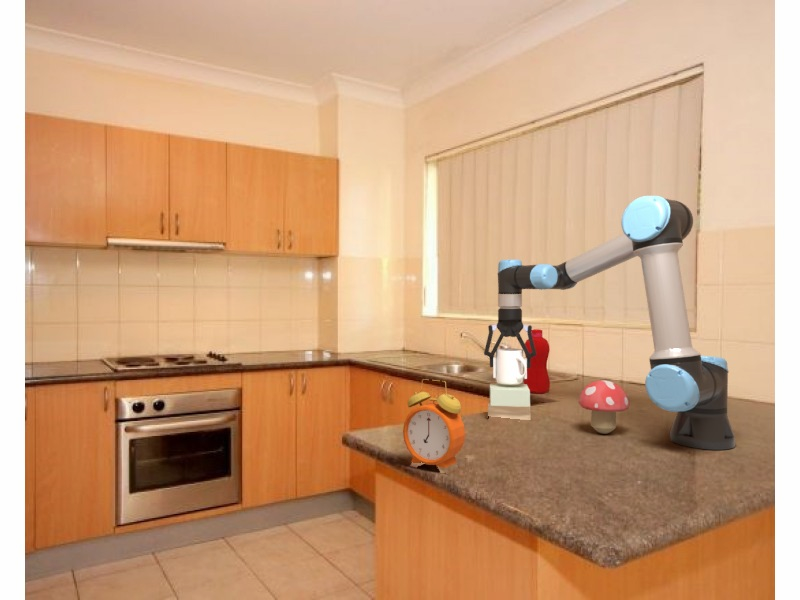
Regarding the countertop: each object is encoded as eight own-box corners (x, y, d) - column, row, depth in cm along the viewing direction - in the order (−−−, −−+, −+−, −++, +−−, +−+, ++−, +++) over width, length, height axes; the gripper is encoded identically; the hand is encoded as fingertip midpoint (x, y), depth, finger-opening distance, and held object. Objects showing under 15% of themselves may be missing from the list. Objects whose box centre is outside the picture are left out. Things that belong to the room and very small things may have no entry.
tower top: (529, 406, 173) (529, 390, 173) (490, 405, 175) (490, 389, 175) (526, 399, 185) (526, 384, 185) (489, 398, 187) (489, 383, 187)
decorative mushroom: (637, 439, 151) (637, 384, 151) (587, 439, 151) (588, 384, 151) (617, 428, 165) (618, 377, 165) (572, 427, 165) (572, 376, 164)
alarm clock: (401, 466, 129) (401, 379, 129) (416, 459, 134) (415, 376, 134) (452, 476, 122) (452, 384, 121) (465, 469, 127) (465, 381, 127)
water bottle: (553, 390, 227) (553, 328, 227) (544, 394, 218) (544, 330, 217) (530, 388, 232) (530, 328, 232) (521, 392, 223) (521, 329, 222)
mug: (514, 387, 173) (514, 352, 173) (490, 382, 183) (490, 349, 183) (536, 384, 177) (535, 350, 177) (511, 379, 187) (511, 347, 187)
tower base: (530, 423, 173) (530, 407, 173) (487, 421, 175) (487, 405, 175) (529, 414, 185) (529, 399, 185) (490, 412, 188) (490, 397, 188)
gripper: (544, 307, 181) (544, 377, 182) (476, 307, 186) (477, 375, 186) (545, 308, 174) (545, 380, 174) (474, 308, 179) (475, 378, 179)
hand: (510, 377), depth 180 cm, fingers closed on mug, 9 cm apart
